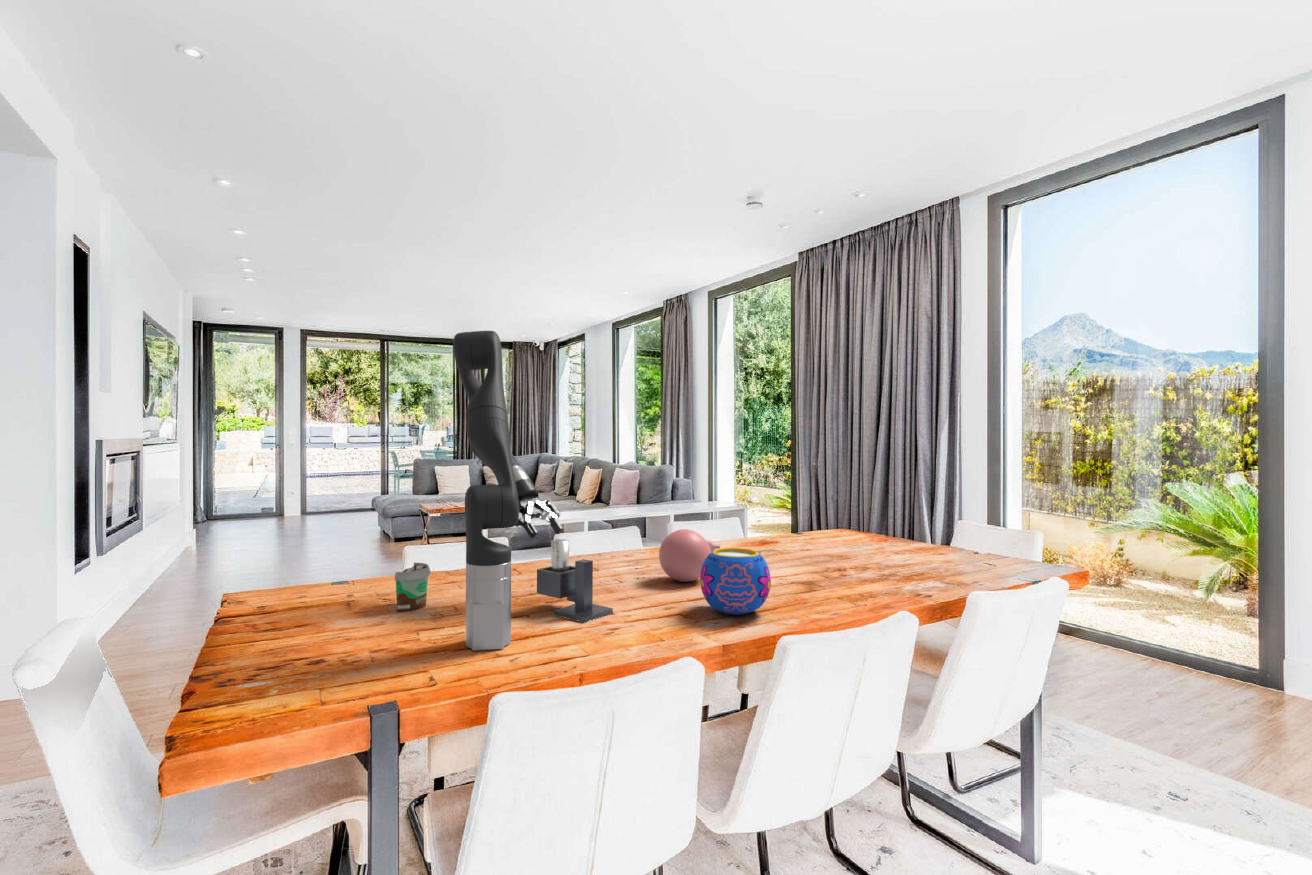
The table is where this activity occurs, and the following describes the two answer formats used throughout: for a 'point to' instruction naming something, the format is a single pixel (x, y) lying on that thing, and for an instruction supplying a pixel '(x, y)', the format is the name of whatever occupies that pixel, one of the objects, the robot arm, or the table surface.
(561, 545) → the silver metal cylinder
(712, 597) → the ceramic pot
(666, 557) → the balloon
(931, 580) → the table surface
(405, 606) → the food container
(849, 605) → the table surface
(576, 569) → the cup bracket
